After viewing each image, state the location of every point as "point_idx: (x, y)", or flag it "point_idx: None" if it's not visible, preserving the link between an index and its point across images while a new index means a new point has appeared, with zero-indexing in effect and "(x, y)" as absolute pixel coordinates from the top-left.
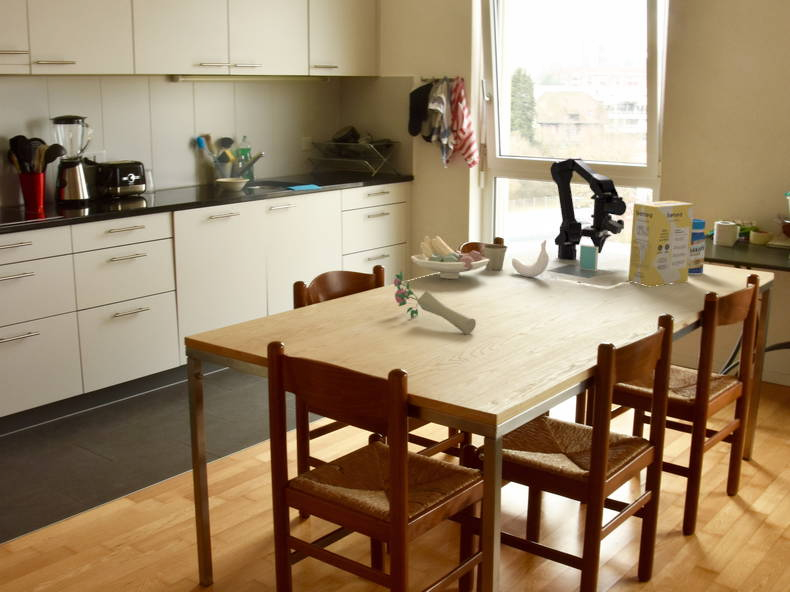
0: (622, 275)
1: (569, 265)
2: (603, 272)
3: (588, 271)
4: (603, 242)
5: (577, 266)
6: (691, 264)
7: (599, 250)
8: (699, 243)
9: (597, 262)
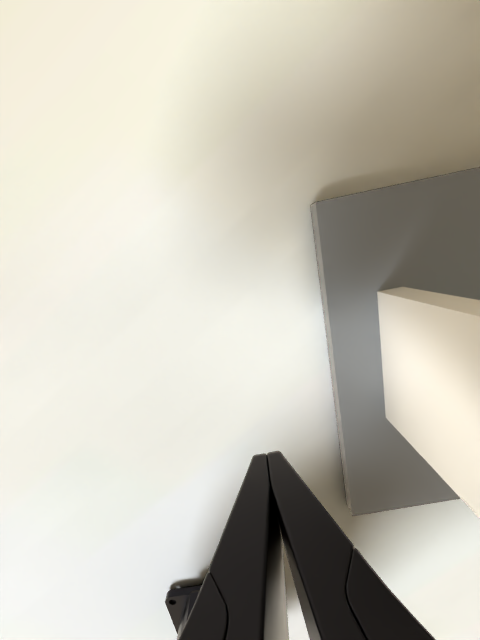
0: (291, 89)
1: (378, 499)
2: (402, 207)
3: None
4: (244, 629)
5: (365, 456)
6: None
7: (298, 475)
8: None
9: (424, 303)
